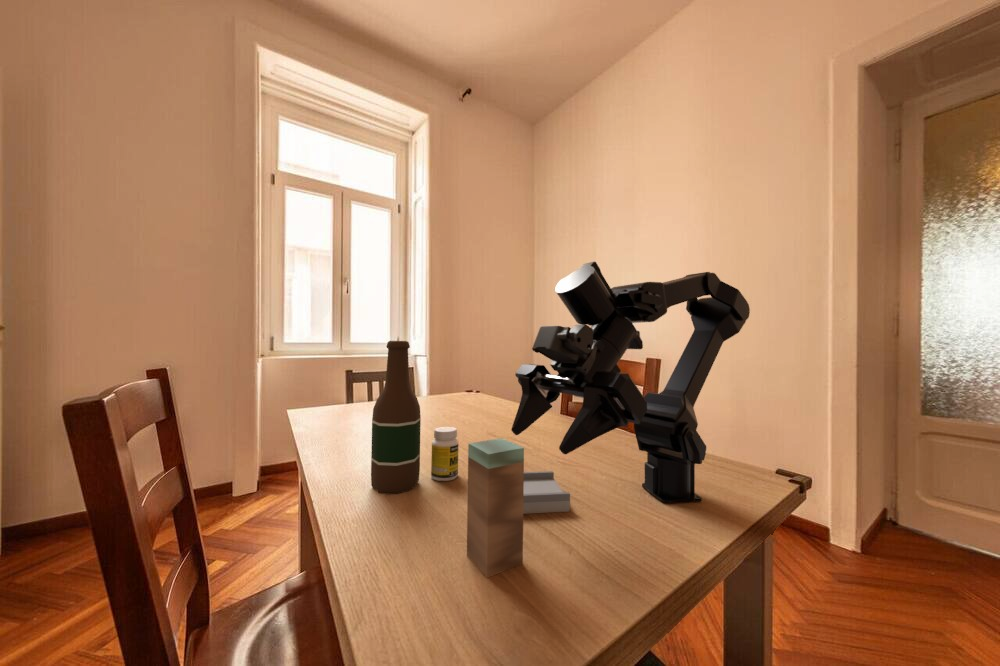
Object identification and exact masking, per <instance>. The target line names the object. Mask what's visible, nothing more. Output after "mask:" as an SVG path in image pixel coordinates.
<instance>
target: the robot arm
mask: <svg viewBox="0 0 1000 666" xmlns="http://www.w3.org/2000/svg"><path fill="white" fill-rule="evenodd" d="M554 288H555V289H554V291H555V293H556V294H557V296H558V297H559V298H560V300H561V301H562V303H563V305H564V306H565V307H566V309H567V311H568V312H569V313H570V315H571V316H572V318H573V319H574V320H575V322H576V323H577V324H575V325H574V326H572V328H571V327H570V326H561V325H548V326H547V325H544V326H540V327H539V329H538V332H537V335H536V336H535V339H534V342H533V345H532V347H531V349H532V351H533V352H534V353H537V354H541V355H543V356H544V357H546V358H547V359H549V360H551V363H550V364H549V365H550V367H551V368H552V370H553V371H555V372H557V373H558V374H557V375H552V374H551V373H550V371H549V370H548V369H547V367H546V366H545V365H543V364H535V363H532V364H531V363H522V364H521V366H520V367H519V368H518V369H517V371H516V372H515V377H516V378H517V382H518V384H519V385H520V387H521V392H522V393H521V397H520V400H519V401H520V402H519V405H518V408H517V410H516V411H517V412H516V414H515V418H514V420H513V423H512V426H511V432H512V433H513V435H515V436H519V435H520V434H522V433H523V432H524V431H525V430H527V429H528V428H529V427H531V426H532V425H533V424H534V423H535V422H536V421H537V420H539V418H541V417H543V415H545V414H546V413H547V412H548V411H549V410H550V409H551V408H553V405H552V404H551V403H554V402H556V401H557V400H558V398H559V397H560V396H561V394H565V395H572V396H574V397H575V398H582V400H583V401H582V406H581V408H580V409H579V410H578V413H577V415H576V416H575V418H574V420H573V421H572V423H571V425H570V426H569V428H568V430H567V431H566V433H565V434H564V436H563V439H562V440H561V442H560V445H559V448H558V449H559V451H560V452H561V453H562V454H563V455H568V454H570V453H572V452H573V451H575V450H577V449H579V448H580V447H583V446H584V445H586V444H588V443H589V442H591V441H592V440H593V441H594V440H595V439H597V438H599V437H601V436H603V435H605V434H607V433H609V432H612V431H614V430H615V429H618V428H620V427H623V428H626V427H627V426H628V425H629V423H631V424H633V430H634V434H635V437H636V438H635V439H636V442H637V446H638V450H639V451H641V452H646V455H647V457H646V459H647V460H646V462H644V482H643V483H642V484H641V487H642V488H644V490H646V491H647V492H648V493H649V494H651V495H652V496H654V497H655V498H656V499H657V500H659V501H660V502H662V503H663V504H664V503H665V504H667V503H688V502H702V501H703V500H702V498H703V497H701V496H700V495H698V494H697V493H695V487H696V486H695V485H696V483H695V479H696V478H695V477H696V475H695V472H696V471H695V465H701V464H703V461H704V460H705V457H706V451H707V445H706V444H705V442H704V440H703V438H702V437H701V435H700V434H699V433H698V431H697V429H698V426H699V423H698V419H697V416H696V412H695V408H694V407H695V404H696V402H697V399H698V398H699V395H700V393H701V391H702V389H703V387H704V385H705V383H706V380H707V379H708V376H709V375H710V374H709V373H710V372H711V370H712V367H713V365H714V363H715V360H716V359H717V356H718V354H719V353H720V350H721V348H722V345H723V344H724V342H725V341H727V340H729V339H731V338H733V337H734V336H736V335H737V334H739V333H740V332H741V330H742V329H743V327H744V325H745V324H746V322H747V320H748V319H749V317H750V311H751V309H750V304H749V303H748V301H747V299H746V297H745V296H744V295H743V294H742V292H741V291H740V290H739V289H738V288H736V287H734V286H732V285H730V284H728V283H726V282H724V281H722V280H721V279H720V278H719V276H718V275H717V273H715V272H710V271H703V272H698V273H691V274H686V275H685V276H682V277H680V278H676V279H672V280H669V281H664V282H660V281H645V282H639V283H637V282H636V283H632V284H625V285H624V284H623V285H619V286H618V285H617V286H614V287H612V288H611V286H610V285H609V283H608V282H607V279H605V277H604V275H603V273H602V272H601V268H600V266H599V265H598V263H597V262H596V261H591V262H586V263H583V265H582V266H580V268H577V269H575V270H574V271H573V272H571V273H570V274H568V275H566V276H565V277H563V278H561V279H560V280H559V281H558V282H557V284H556V285H555V287H554ZM703 296H709V297H703ZM701 297H702V298H701ZM685 302H686V305H685V306H686V307H685V310H686V311H687V313H688V314H689V316H691V317H690V319H691V322H692V325H693V327H694V329H693V332H692V334H691V336H690V337H689V340H688V341H687V344H686V346H685V347H684V350H683V351H682V352H681V353H682V354H681V355H680V357H679V359H678V361H677V363H676V365H675V367H674V369H673V371H672V372H671V375H670V377H669V378H668V380H667V383H666V385H665V387H664V388H663V390H662V391H661V392H659V393H656V392H647V393H646V394H645V395H643V394H642V392H641V391H640V389H639V388H638V386H637V384H636V383H635V382H634V380H633V379H632V377H631V375H630V374H629V373H625V372H622V370H621V368H620V367H619V362H620V360H621V359H622V357H624V354H625V353H626V351H627V350H642V349H643V348H644V344H643V339H642V337H641V332H640V331H639V330H637V328H636V327H635V325H634V324H637V323H638V324H639V323H640V324H641V323H652V322H655V321H657V320H658V319H661V318H662V317H663V316H665V315H666V314H667V312H668V309H670V307H672V306H676V305H679V304H682V303H685ZM633 323H634V324H633Z"/></svg>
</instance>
